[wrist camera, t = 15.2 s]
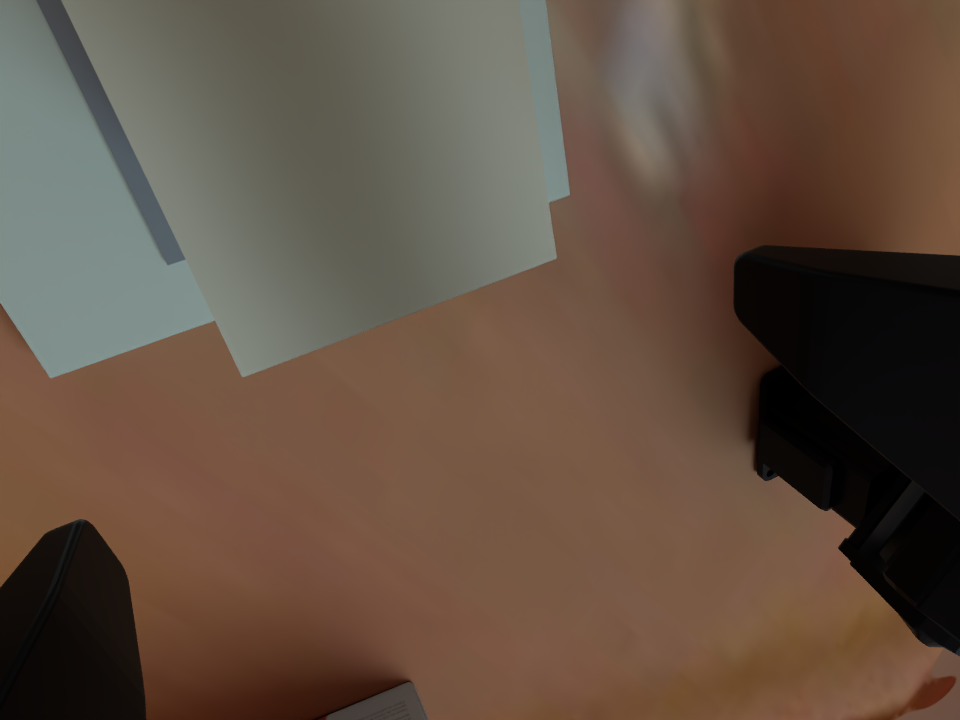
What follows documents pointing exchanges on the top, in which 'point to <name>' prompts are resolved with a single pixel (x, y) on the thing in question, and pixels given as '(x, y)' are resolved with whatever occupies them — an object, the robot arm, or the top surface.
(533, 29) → the board
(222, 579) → the top surface
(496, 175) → the maple cube
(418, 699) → the ink box
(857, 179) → the top surface
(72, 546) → the robot arm
